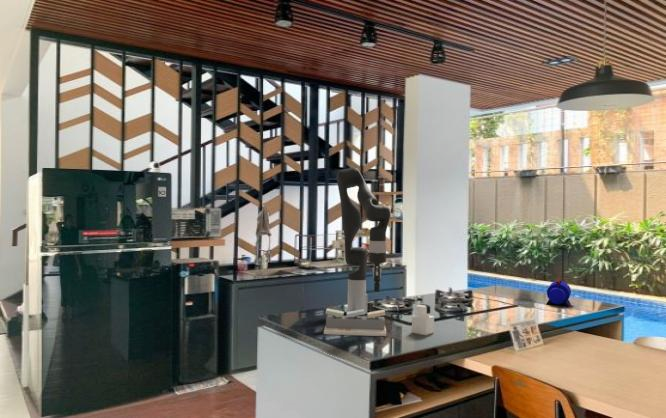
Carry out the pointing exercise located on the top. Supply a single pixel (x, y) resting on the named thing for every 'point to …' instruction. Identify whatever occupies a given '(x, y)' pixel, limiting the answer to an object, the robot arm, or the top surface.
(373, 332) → the switch panel
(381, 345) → the top surface
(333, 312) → the plate
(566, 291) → the alarm clock
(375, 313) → the beige flat panel
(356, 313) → the pale grey-blue box
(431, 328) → the medicine bottle
